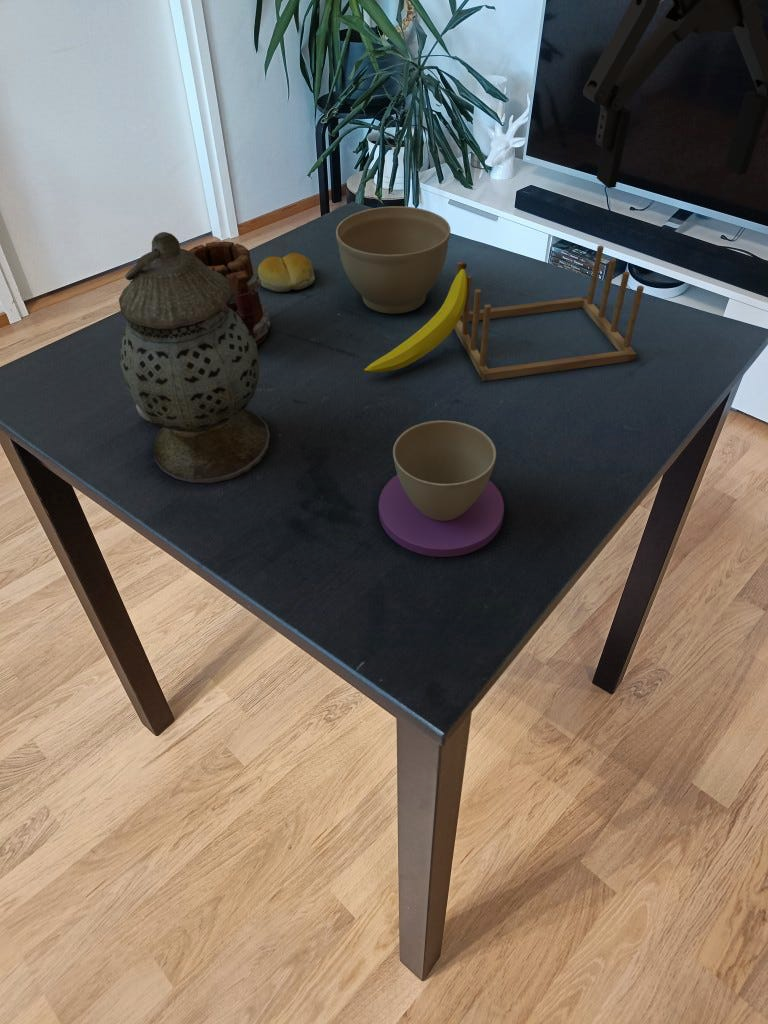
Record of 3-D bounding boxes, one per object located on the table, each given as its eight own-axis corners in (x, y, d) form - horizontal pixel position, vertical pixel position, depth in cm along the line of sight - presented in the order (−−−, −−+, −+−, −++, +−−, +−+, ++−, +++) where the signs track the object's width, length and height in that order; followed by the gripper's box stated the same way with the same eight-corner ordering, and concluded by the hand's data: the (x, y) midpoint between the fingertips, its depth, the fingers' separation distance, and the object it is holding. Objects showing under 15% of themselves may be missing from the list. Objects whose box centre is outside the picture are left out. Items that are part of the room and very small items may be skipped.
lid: (520, 545, 71) (522, 537, 70) (393, 567, 69) (393, 559, 68) (481, 463, 80) (482, 455, 79) (368, 480, 78) (367, 472, 78)
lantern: (165, 499, 77) (100, 285, 59) (135, 424, 86) (70, 218, 68) (287, 461, 81) (261, 251, 63) (246, 393, 90) (213, 192, 72)
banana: (376, 392, 95) (352, 359, 91) (476, 297, 97) (458, 260, 92) (387, 400, 93) (364, 366, 89) (490, 302, 94) (471, 264, 90)
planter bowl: (324, 288, 111) (318, 218, 103) (417, 267, 115) (418, 198, 108) (366, 337, 100) (363, 263, 93) (466, 311, 105) (471, 238, 97)
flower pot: (506, 492, 75) (513, 439, 70) (461, 552, 69) (466, 499, 64) (424, 461, 79) (425, 408, 74) (375, 515, 73) (373, 461, 68)
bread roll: (256, 273, 115) (252, 249, 112) (311, 267, 116) (308, 243, 113) (260, 297, 109) (256, 272, 106) (318, 290, 110) (315, 265, 107)
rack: (634, 360, 94) (651, 293, 88) (482, 381, 92) (488, 313, 85) (585, 303, 106) (598, 240, 99) (449, 320, 103) (452, 256, 96)
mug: (249, 302, 107) (241, 208, 96) (293, 358, 101) (290, 265, 89) (175, 324, 103) (157, 229, 91) (216, 384, 96) (201, 290, 84)
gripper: (856, -122, 59) (765, 152, 74) (571, -110, 55) (536, 174, 70) (923, -117, 54) (810, 177, 68) (612, -104, 50) (565, 203, 65)
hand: (671, 176), depth 69 cm, fingers open, 13 cm apart
